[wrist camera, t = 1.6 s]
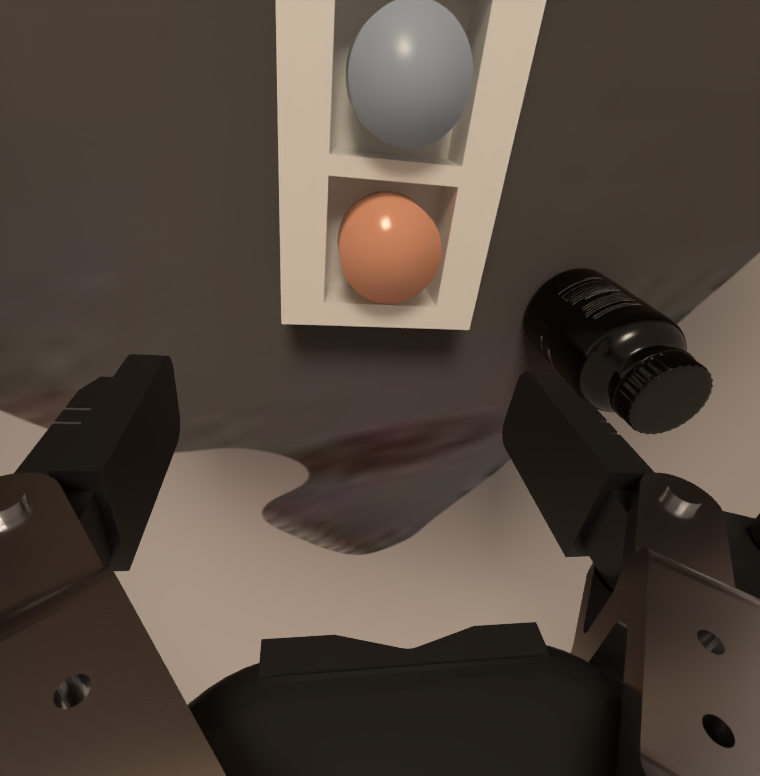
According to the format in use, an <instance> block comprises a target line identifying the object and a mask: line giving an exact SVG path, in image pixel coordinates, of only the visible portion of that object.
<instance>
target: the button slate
mask: <svg viewBox="0 0 760 776" xmlns="http://www.w3.org/2000/svg"><path fill="white" fill-rule="evenodd" d="M472 80H473V59H472V53H471V48H470V44H469V41H468V38H467V36H466V34H465V31H464V29H463V28H462V26H461V24H460V23H459V21H458V20H457V19H456V17H455V16H454V15H453V14H452V13H451V12H450V11H449V10H448V9H447V8H445V7H444V6H442V5H441V4H439V3H437V2H435V1H433V0H395V1H393V2H390V3H388V4H387V5H385V6H384V7H382V8H381V9H379V10H378V11H377V12H376V13H375V14H374V15H373V16H372V17H371V18H370V19H369V20H368V21H366V23H365V24H364V25H363V26H362V27H361V29H360V30H359V32H358V33H357V35H356V36H355V38H354V40H353V43H352V45H351V48H350V51H349V54H348V58H347V63H346V88H347V93H348V98H349V101H350V104H351V107H352V109H353V111H354V113H355V115H356V116H357V118H358V119H359V121H360V122H361V123H362V125H363V126H364V127H365V128H366V129H367V130H368V131H369V132H371V133H372V134H373V135H375V136H376V137H377V138H379V139H380V140H381V141H383V142H385V143H387V144H389V145H391V146H394V147H398V148H403V149H415V148H421V147H424V146H427V145H430V144H432V143H434V142H436V141H437V140H439V139H441V138H442V137H443V136H444V135H446V134H447V133H448V132H449V131H450V130H451V129H452V128H453V126H454V125H455V124H456V123H457V121H458V120H459V118H460V116H461V115H462V113H463V111H464V109H465V107H466V105H467V102H468V99H469V96H470V92H471V87H472Z"/></svg>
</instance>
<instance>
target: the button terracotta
mask: <svg viewBox="0 0 760 776" xmlns="http://www.w3.org/2000/svg"><path fill="white" fill-rule="evenodd" d="M337 246H338V252H339V257H340V262H341V267H342V270H343V273H344V276H345V278H346V280H347V281H348V283H349V284H350V285H351V287H352V288H353V289H354V290H355V291H356V292H357V293H359V294H360V295H361V296H363V297H365V298H367V299H369V300H371V301H374V302H378V303H398V302H402V301H405V300H408V299H410V298H412V297H414V296H416V295H417V294H419V293H420V292H421V291H422V290H424V289H425V288H426V287H427V286H428V284H429V283H430V282H431V281H432V279H433V278H434V276H435V274H436V272H437V270H438V267H439V265H440V260H441V254H442V244H441V238H440V235H439V232H438V229H437V227H436V225H435V224H434V222H433V220H432V219H431V218H430V217H429V216H428V215H427V214H426V212H425V211H424V210H423V209H422V208H421V207H420V206H419V205H418V204H417V203H416V202H415V201H414V200H412V199H411V198H409V197H408V196H406V195H404V194H401V193H398V192H392V191H380V192H375V193H371V194H369V195H366V196H364V197H362V198H361V199H359V200H358V201H357V202H355V203H354V204H353V205H352V206H351V207H350V208H349V209H348V211H347V212H346V213H345V215H344V217H343V219H342V221H341V223H340V226H339V230H338V236H337Z"/></svg>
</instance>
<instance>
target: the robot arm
mask: <svg viewBox="0 0 760 776" xmlns="http://www.w3.org/2000/svg"><path fill="white" fill-rule="evenodd" d="M606 421H607V420H606V419H605V418H604V417H603V416H602V414H601V413H600V412H599V411H598V410H597V409H596V408H595V407H594V406H593V405H591V404H590V403H588V402H587V401H585V400H584V399H582V398H581V397H579V396H578V395H576V394H575V393H574V392H573V391H572V390H571V389H570V388H569V387H568V385H567V384H566V383H565V382H564V381H563V380H562V379H561V378H560V376H559V375H557V374H556V373H540V372H524V373H523V374H522V375H521V376H520V377H519V379H518V382H517V385H516V388H515V391H514V394H513V397H512V400H511V403H510V406H509V409H508V412H507V415H506V418H505V421H504V424H503V431H502V436H503V443H504V446H505V449H506V450H507V452H508V454H509V456H510V458H511V459H512V461H513V463H514V465H515V466H516V468H517V470H518V472H519V474H520V476H521V477H522V479H523V481H524V483H525V485H526V486H527V488H528V490H529V492H530V494H531V495H532V497H533V499H534V501H535V503H536V504H537V506H538V508H539V510H540V512H541V513H542V515H543V517H544V519H545V521H546V522H547V524H548V526H549V528H550V530H551V531H552V533H553V535H554V537H555V538H556V540H557V542H558V544H559V546H560V548H561V550H562V551H563V553H564V555H565V556H566V557H579V556H590V558H591V560H592V561H593V564H592V565H591V567H590V569H589V570H588V573H587V576H586V582H585V586H584V592H583V598H582V602H581V607H580V612H579V618H578V623H577V628H576V633H575V638H574V643H573V647H572V651H571V653H568V652H566V651H563V650H560V649H557V648H554V647H551V646H547V645H545V642H544V640H543V638H542V635H541V633H540V631H539V628H538V626H537V624H536V622H532V623H515V624H500V625H483V626H473V627H470V628H468V629H465V630H462V631H460V632H457V633H454V634H451V635H449V636H446V637H443V638H441V639H438V640H435V641H432V642H430V643H427V644H425V645H422V646H419V647H416V648H412V649H404V648H398V647H393V646H388V645H383V644H378V643H373V642H368V641H363V640H358V639H353V638H347V637H343V636H338V635H324V636H309V637H292V638H276V639H262V641H261V652H260V663H258V664H255V665H252V666H249V667H246V668H244V669H242V670H240V671H238V672H236V673H233V674H232V675H229V676H227V677H225V678H224V679H222V680H221V681H219V682H218V683H216V684H214V685H213V686H211V687H210V688H208V689H207V690H205V691H204V692H203V693H202V694H200V695H199V696H198V697H197V698H195V699H194V700H193V701H191V702H190V703H189V704H188V705H187V704H186V702H185V700H184V698H183V696H182V694H181V693H180V691H179V689H178V687H177V685H176V684H175V682H174V680H173V678H172V676H171V674H170V673H169V671H168V669H167V667H166V665H165V664H164V662H163V660H162V658H161V656H160V654H159V653H158V651H157V649H156V648H155V645H154V644H153V642H152V640H151V638H150V636H149V635H148V633H147V631H146V629H145V627H144V626H143V624H142V622H141V620H140V618H139V616H138V615H137V613H136V611H135V609H134V607H133V605H132V604H131V602H130V600H129V598H128V597H127V595H126V593H125V591H124V589H123V587H122V585H121V584H120V582H119V580H118V578H117V577H116V575H115V573H114V572H113V571H129V569H130V567H131V564H132V562H133V559H134V557H135V554H136V551H137V549H138V546H139V544H140V541H141V538H142V535H143V533H144V530H145V527H146V525H147V522H148V520H149V517H150V514H151V512H152V509H153V507H154V504H155V501H156V499H157V496H158V493H159V491H160V488H161V485H162V482H163V480H164V477H165V475H166V472H167V469H168V467H169V464H170V462H171V459H172V456H173V454H174V451H175V448H176V446H177V443H178V439H179V432H180V414H179V406H178V399H177V392H176V384H175V377H174V370H173V364H172V361H171V358H170V357H169V356H159V355H136V354H130V355H128V356H127V358H126V359H125V361H124V362H123V363H122V365H121V366H120V368H119V369H118V371H117V372H116V374H115V375H114V376H113V377H99V378H98V379H96V380H95V381H93V382H91V383H90V384H88V385H86V386H85V387H83V388H82V389H80V390H79V391H78V392H77V393H76V394H75V396H74V397H73V398H72V400H71V401H70V402H69V403H68V405H67V406H66V410H63V411H62V412H61V414H60V415H59V416H58V417H57V419H56V420H55V424H52V425H51V426H50V428H49V429H48V430H47V432H46V433H45V434H44V435H43V437H42V438H41V439H40V441H39V442H38V443H37V444H36V446H35V447H34V448H33V450H32V451H31V452H30V453H29V455H28V456H27V457H26V459H25V460H24V461H23V462H22V464H21V465H20V466H19V468H18V469H17V470H16V471H15V473H14V474H9V475H4V476H0V776H760V514H759V515H758V516H757V517H756V519H755V518H750V517H746V516H742V515H738V514H733V513H729V512H725V511H722V509H721V507H720V506H719V504H718V503H717V502H716V501H715V500H714V499H713V498H712V497H711V496H710V495H709V494H708V493H707V492H705V491H704V490H703V489H701V488H700V487H698V486H696V485H695V484H693V483H691V482H689V481H687V480H685V479H682V478H680V477H677V476H674V475H670V474H666V473H655V472H654V471H653V470H652V469H651V468H650V467H649V466H648V465H647V464H646V463H645V461H644V460H643V459H642V458H641V457H640V456H639V455H638V454H637V453H636V452H635V450H633V448H632V447H631V446H630V445H629V444H628V443H627V442H626V441H625V440H624V438H623V437H622V436H621V435H617V431H616V430H615V429H614V428H613V426H611V424H610V423H607V422H606Z"/></svg>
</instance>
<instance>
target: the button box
mask: <svg viewBox="0 0 760 776" xmlns="http://www.w3.org/2000/svg"><path fill="white" fill-rule="evenodd" d="M393 1H395V0H276V46H277V101H278V156H279V211H280V266H281V321H282V324H299V325H331V326H362V327H393V328H424V329H455V330H469V329H470V324H471V320H472V316H473V312H474V307H475V303H476V299H477V294H478V290H479V286H480V282H481V277H482V273H483V269H484V265H485V260H486V256H487V252H488V247H489V243H490V239H491V235H492V230H493V226H494V222H495V218H496V213H497V209H498V205H499V200H500V196H501V192H502V188H503V183H504V179H505V175H506V170H507V166H508V162H509V158H510V153H511V149H512V145H513V141H514V136H515V132H516V128H517V123H518V119H519V115H520V111H521V106H522V102H523V98H524V94H525V89H526V85H527V81H528V76H529V72H530V68H531V64H532V59H533V55H534V51H535V47H536V42H537V38H538V34H539V29H540V25H541V21H542V17H543V12H544V8H545V4H546V0H433V1H435V2H437V3H439V4H441V5H442V6H444V7H445V8H447V9H448V10H449V11H450V12H451V13H452V14H453V15H454V16H455V17H456V19H457V20H458V21H459V23H460V24H461V26H462V28H463V29H464V31H465V34H466V36H467V38H468V41H469V44H470V48H471V53H472V59H473V80H472V87H471V92H470V96H469V99H468V102H467V105H466V107H465V109H464V111H463V113H462V115H461V116H460V118H459V120H458V121H457V123H456V124H455V125H454V126H453V128H452V129H451V130H450V131H449V132H448V133H447V134H446V135H444V136H443V137H442V138H441V139H439V140H437V141H436V142H434V143H432V144H430V145H427V146H424V147H421V148H415V149H403V148H398V147H394V146H391V145H389V144H387V143H385V142H383V141H381V140H380V139H379V138H377V137H376V136H375V135H373V134H372V133H371V132H369V131H368V130H367V129H366V128H365V127H364V126H363V125H362V123H361V122H360V121H359V119H358V118H357V116H356V115H355V113H354V111H353V109H352V107H351V104H350V101H349V98H348V93H347V88H346V63H347V58H348V54H349V51H350V48H351V45H352V43H353V40H354V38H355V36H356V35H357V33H358V32H359V30H360V29H361V27H362V26H363V25H364V24H365V23H366V21H368V20H369V19H370V18H371V17H372V16H373V15H374V14H375V13H376V12H377V11H378V10H379V9H381V8H382V7H384V6H385V5H387V4H388V3H390V2H393ZM380 191H392V192H398V193H401V194H404V195H406V196H408V197H409V198H411V199H412V200H414V201H415V202H416V203H417V204H418V205H419V206H420V207H421V208H422V209H423V210H424V211H425V212H426V214H427V215H428V216H429V217H430V218H431V219H432V220H433V222H434V224H435V225H436V227H437V229H438V232H439V235H440V238H441V244H442V254H441V260H440V265H439V267H438V270H437V272H436V274H435V276H434V278H433V279H432V281H431V282H430V283H429V284H428V286H427V287H426V288H425V289H424V290H422V291H421V292H420V293H419V294H417V295H416V296H414V297H412V298H410V299H408V300H405V301H402V302H398V303H378V302H374V301H371V300H369V299H367V298H365V297H363V296H361V295H360V294H359V293H357V292H356V291H355V290H354V289H353V288H352V287H351V285H350V284H349V283H348V281H347V280H346V278H345V276H344V273H343V270H342V267H341V262H340V257H339V252H338V246H337V236H338V230H339V226H340V223H341V221H342V219H343V217H344V215H345V213H346V212H347V211H348V209H349V208H350V207H351V206H352V205H353V204H354V203H355V202H357V201H358V200H359V199H361V198H362V197H364V196H366V195H369V194H371V193H375V192H380Z"/></svg>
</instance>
